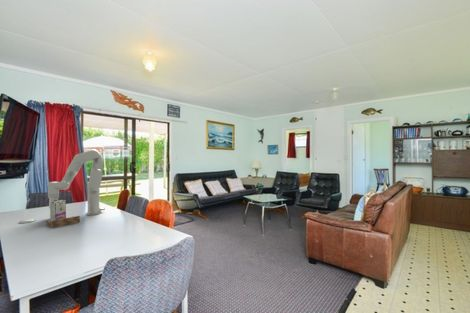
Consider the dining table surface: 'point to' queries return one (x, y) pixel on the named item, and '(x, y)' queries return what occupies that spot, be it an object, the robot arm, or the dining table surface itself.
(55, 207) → the candy bar box
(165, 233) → the dining table surface
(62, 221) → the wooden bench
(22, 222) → the white dome
